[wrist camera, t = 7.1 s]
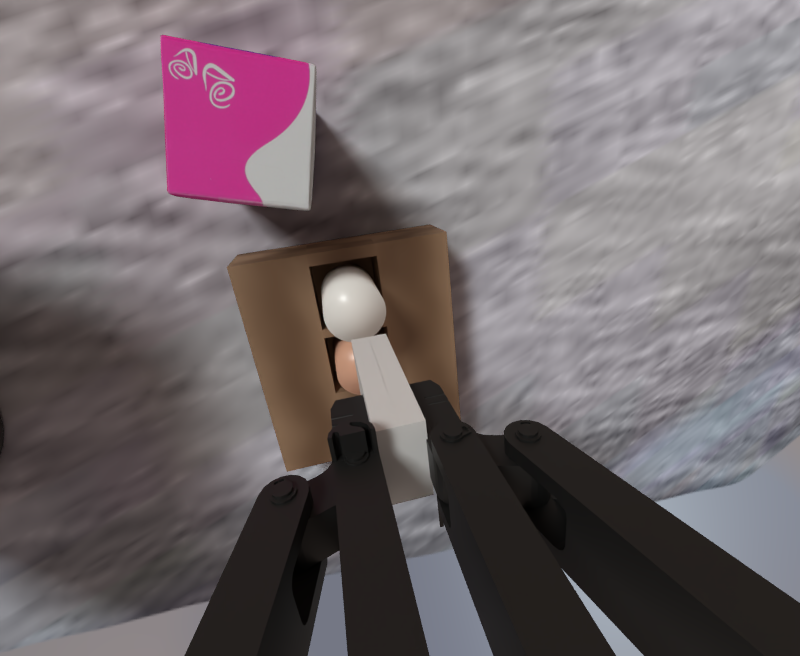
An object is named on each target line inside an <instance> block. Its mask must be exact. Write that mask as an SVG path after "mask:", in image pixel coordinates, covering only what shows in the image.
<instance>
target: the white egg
mask: <svg viewBox="0 0 800 656" xmlns="http://www.w3.org/2000/svg"><path fill="white" fill-rule="evenodd" d="M321 296H322V307H323V317H324V321H325V324H326V326H327V328H328V330H329V331H330V332H331V333H332V334H333V335H334V336H335V337H337V338H339V339H341V340H343V341H347V342H351V340H354V339H359V338H365V337H370V336H374V335H375V334H376V333H377V332H378V331H379V330H380V329H381V327H382V326H383V324H384V321H385V318H386V305H385V302H384V300H383V298H382V296H381V294H380V292H379V291H378V289H377V287H376V285H375V284H374V282H373V280H372V278H371V277H370V275H369V274H368V273H367V272H366V271H365V270H364V269H362V268H361V267H358V266H356V265H351V264H345V265H340V266H337V267H335V268H333V269H332V270H331V271H329V272H328V273H327V275H326V276H325V278H324V280H323V282H322V286H321Z"/></svg>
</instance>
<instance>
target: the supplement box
mask: <svg viewBox="0 0 800 656" xmlns="http://www.w3.org/2000/svg"><path fill="white" fill-rule="evenodd" d="M160 41H161V61H162V76H163V93H164V120H165V144H166V168H167V191H168V193H169V194H171V195H174V196H178V197H185V198H192V199H200V200H208V201H217V202H226V203H235V204H244V205H254V206H264V207H274V208H283V209H292V210H303V211H309V210H310V209H311V202H312V190H313V175H314V159H315V133H316V66H315V65H313V64H310V63H305V62H301V61H296V60H290V59H285V58H280V57H275V56H270V55H265V54H260V53H254V52H249V51H244V50H238V49H233V48H228V47H222V46H218V45H212V44H207V43H202V42H196V41H191V40H186V39H181V38H176V37H171V36H166V35H161V36H160Z"/></svg>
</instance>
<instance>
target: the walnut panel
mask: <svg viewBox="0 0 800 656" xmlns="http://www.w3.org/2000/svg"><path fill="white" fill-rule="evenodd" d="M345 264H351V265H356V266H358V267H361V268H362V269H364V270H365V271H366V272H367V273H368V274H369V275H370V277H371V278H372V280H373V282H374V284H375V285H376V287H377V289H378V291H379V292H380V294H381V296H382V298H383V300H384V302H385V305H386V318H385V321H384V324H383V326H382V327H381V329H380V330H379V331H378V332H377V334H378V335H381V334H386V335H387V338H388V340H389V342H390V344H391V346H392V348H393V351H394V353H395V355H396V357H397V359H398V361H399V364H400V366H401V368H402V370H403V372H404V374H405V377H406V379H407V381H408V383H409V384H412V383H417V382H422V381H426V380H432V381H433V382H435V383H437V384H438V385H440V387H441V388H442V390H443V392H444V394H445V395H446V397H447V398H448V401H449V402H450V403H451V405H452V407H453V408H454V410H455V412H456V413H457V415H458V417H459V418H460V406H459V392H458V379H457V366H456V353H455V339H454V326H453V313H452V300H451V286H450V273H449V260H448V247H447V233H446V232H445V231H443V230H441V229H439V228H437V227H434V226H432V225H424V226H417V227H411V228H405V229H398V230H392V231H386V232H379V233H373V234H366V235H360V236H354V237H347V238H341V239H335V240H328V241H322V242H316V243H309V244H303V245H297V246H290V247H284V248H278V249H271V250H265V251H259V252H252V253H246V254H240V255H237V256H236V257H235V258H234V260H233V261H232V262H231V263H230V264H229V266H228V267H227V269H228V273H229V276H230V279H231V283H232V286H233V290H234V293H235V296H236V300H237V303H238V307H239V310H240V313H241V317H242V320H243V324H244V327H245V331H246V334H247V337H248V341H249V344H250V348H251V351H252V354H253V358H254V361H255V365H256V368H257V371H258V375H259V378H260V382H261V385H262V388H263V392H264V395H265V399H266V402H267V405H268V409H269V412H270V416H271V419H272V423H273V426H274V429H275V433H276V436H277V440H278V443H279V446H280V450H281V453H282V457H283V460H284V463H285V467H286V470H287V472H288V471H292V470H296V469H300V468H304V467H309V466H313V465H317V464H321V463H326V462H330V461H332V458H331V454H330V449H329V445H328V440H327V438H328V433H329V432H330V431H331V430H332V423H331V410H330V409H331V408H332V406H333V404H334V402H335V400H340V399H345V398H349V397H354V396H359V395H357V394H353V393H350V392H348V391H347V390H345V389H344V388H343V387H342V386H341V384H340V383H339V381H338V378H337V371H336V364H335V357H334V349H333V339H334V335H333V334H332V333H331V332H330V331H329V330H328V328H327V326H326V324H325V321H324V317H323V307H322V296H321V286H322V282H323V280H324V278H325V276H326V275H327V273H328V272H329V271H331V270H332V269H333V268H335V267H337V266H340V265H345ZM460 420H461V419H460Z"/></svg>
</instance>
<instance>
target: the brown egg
mask: <svg viewBox="0 0 800 656" xmlns="http://www.w3.org/2000/svg"><path fill="white" fill-rule="evenodd" d="M375 335H378V334H377V333H376V334H375ZM375 335H374V336H375ZM333 349H334V357H335V364H336V371H337V378H338V381H339V383H340V384H341V386H342V387H343V388H344V389H345V390H347V391H348V392H350V393H353V394H357V395H361V394H360V388H359V383H358V377H357V371H356V366H355V360H354V354H353V349H352V343H351V342H347V341H343V340H341V339H339V338H337V337H335V336H334V339H333Z"/></svg>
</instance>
